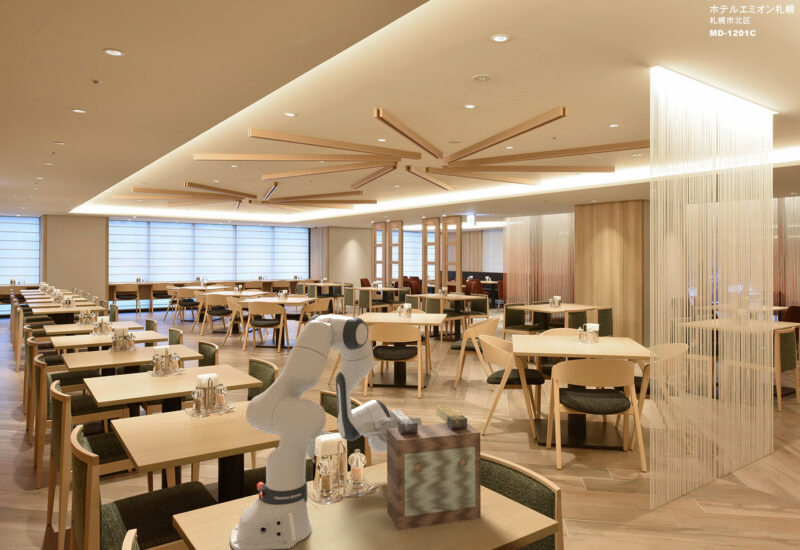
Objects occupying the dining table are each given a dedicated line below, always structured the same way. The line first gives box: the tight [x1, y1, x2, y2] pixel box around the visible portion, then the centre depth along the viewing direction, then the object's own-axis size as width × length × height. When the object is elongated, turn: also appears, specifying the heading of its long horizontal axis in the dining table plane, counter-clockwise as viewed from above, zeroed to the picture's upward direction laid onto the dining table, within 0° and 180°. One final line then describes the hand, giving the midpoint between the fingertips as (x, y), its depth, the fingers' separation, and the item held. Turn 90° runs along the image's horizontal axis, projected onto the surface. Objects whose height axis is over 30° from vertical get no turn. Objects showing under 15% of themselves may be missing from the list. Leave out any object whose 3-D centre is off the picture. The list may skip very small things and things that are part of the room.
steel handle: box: [389, 408, 418, 435], centre depth 166 cm, size 5×17×3 cm, turn 16°
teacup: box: [307, 430, 333, 464], centre depth 209 cm, size 12×15×10 cm
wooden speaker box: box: [386, 422, 482, 531], centre depth 161 cm, size 26×14×26 cm, turn 106°
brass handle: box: [435, 404, 468, 430], centre depth 170 cm, size 5×17×3 cm, turn 16°
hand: (396, 420), depth 171 cm, fingers open, 8 cm apart
